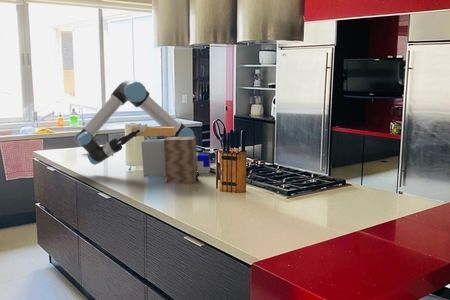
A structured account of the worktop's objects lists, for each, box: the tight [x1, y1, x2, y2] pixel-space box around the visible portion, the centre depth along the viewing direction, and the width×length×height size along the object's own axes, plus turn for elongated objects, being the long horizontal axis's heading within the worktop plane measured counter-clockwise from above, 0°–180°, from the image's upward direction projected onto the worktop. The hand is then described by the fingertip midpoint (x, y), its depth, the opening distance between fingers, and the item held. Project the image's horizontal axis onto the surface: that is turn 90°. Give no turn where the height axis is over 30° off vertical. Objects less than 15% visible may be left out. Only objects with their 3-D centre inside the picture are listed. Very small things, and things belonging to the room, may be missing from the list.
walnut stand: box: [163, 136, 198, 184], centre depth 251 cm, size 15×9×23 cm, turn 82°
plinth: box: [140, 139, 166, 177], centre depth 268 cm, size 16×9×19 cm, turn 82°
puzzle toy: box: [196, 151, 211, 174], centre depth 274 cm, size 10×10×10 cm
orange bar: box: [131, 126, 175, 137], centre depth 265 cm, size 24×4×4 cm, turn 82°
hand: (146, 126), depth 266 cm, fingers closed on orange bar, 4 cm apart
